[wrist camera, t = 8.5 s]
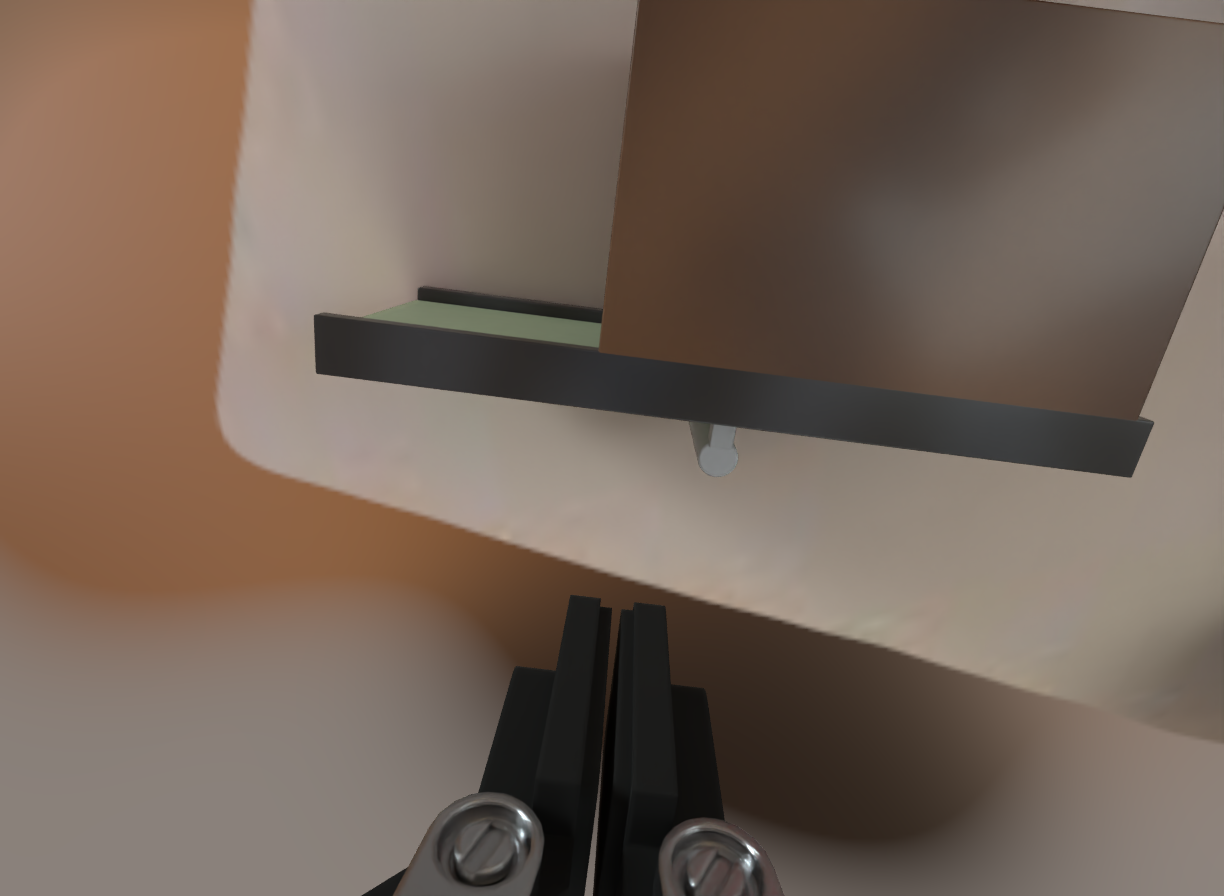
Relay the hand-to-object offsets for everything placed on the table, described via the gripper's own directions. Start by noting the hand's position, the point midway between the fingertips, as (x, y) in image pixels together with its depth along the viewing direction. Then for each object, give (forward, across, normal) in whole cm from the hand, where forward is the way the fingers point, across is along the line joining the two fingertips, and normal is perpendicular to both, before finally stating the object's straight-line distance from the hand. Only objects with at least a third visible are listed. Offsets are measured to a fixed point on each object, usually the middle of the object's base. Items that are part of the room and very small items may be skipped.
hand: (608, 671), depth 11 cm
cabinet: (+19, -3, -8) cm, 21 cm away
